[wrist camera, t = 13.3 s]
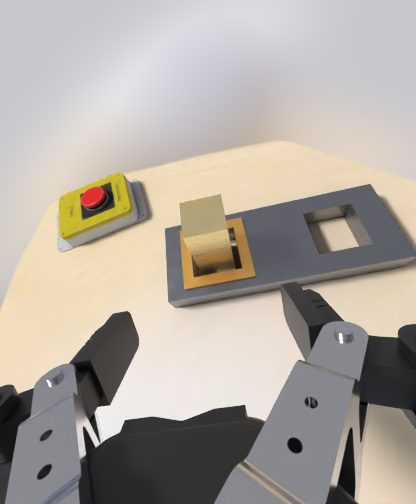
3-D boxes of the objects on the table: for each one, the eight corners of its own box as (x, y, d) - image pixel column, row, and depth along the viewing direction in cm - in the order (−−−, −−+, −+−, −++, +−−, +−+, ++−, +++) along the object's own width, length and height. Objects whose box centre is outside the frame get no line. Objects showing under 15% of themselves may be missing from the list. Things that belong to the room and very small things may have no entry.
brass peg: (230, 245, 30) (220, 194, 21) (236, 273, 28) (227, 229, 19) (201, 251, 30) (179, 203, 22) (204, 279, 28) (182, 238, 20)
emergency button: (137, 200, 32) (37, 241, 31) (150, 219, 35) (60, 255, 35) (127, 160, 36) (39, 196, 36) (139, 180, 40) (60, 213, 40)
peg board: (361, 197, 30) (371, 182, 27) (403, 266, 25) (419, 254, 22) (171, 238, 32) (164, 227, 30) (175, 307, 27) (167, 301, 25)
